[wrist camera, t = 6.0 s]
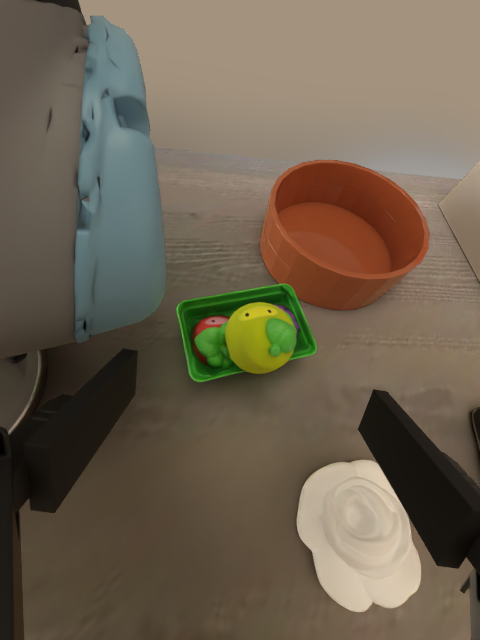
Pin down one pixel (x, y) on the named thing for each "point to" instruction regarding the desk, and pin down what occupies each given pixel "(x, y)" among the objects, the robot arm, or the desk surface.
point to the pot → (340, 234)
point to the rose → (358, 536)
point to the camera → (476, 424)
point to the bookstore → (466, 215)
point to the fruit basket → (243, 332)
